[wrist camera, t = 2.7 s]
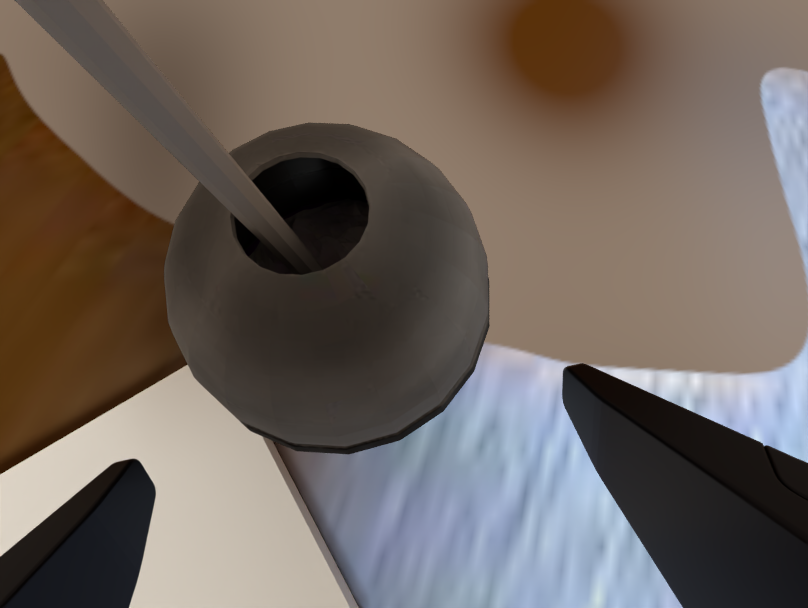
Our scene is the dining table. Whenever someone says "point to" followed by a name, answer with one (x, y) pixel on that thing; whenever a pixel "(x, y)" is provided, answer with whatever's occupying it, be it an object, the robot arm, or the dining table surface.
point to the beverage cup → (303, 261)
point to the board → (190, 503)
